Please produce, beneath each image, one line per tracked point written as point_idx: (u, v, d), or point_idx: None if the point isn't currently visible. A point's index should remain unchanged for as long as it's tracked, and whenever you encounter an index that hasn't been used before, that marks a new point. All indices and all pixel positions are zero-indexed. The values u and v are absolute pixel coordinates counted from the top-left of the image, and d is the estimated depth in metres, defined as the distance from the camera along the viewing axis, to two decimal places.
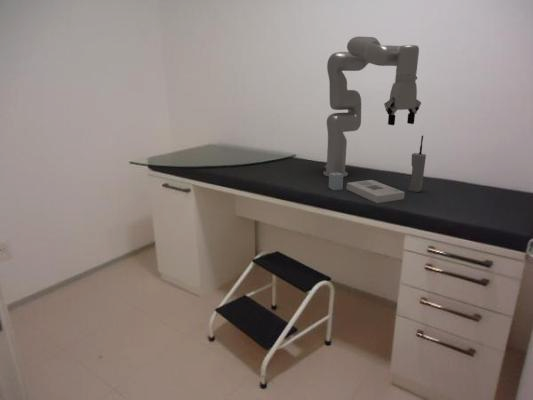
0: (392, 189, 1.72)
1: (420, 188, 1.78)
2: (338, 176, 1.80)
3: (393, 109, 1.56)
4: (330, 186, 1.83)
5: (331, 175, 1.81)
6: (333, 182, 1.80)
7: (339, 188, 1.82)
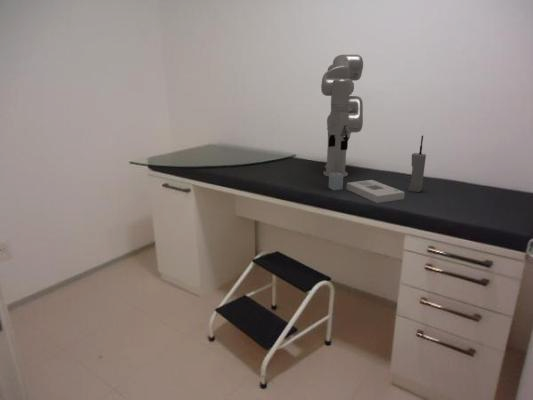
0: (392, 189, 1.72)
1: (420, 188, 1.78)
2: (338, 176, 1.80)
3: None
4: (330, 186, 1.83)
5: (331, 175, 1.81)
6: (333, 182, 1.80)
7: (339, 188, 1.82)
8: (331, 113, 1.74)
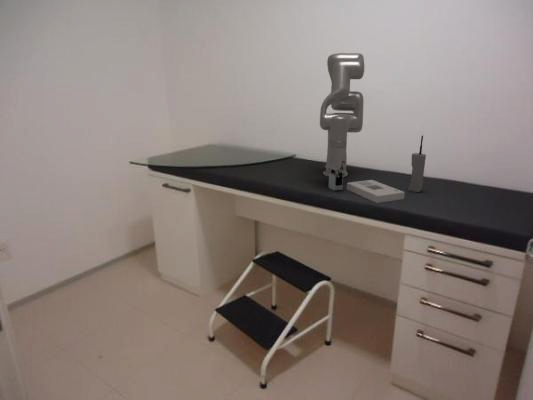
0: (392, 189, 1.72)
1: (420, 188, 1.78)
2: None
3: None
4: (330, 186, 1.83)
5: (331, 175, 1.81)
6: (333, 182, 1.80)
7: (339, 188, 1.82)
8: (329, 148, 1.79)
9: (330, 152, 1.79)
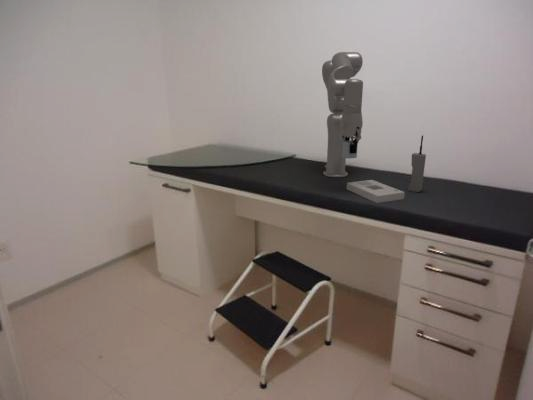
0: (392, 189, 1.72)
1: (420, 188, 1.78)
2: None
3: (352, 138, 1.71)
4: (344, 154, 1.76)
5: (345, 143, 1.74)
6: (347, 150, 1.73)
7: (353, 156, 1.74)
8: (343, 114, 1.72)
9: (344, 118, 1.71)
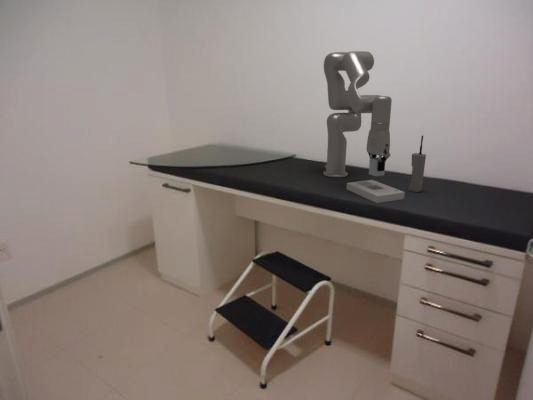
0: (392, 189, 1.72)
1: (420, 188, 1.78)
2: None
3: None
4: (371, 172, 1.72)
5: (372, 160, 1.70)
6: (375, 167, 1.69)
7: (381, 174, 1.70)
8: (371, 131, 1.68)
9: (372, 135, 1.68)
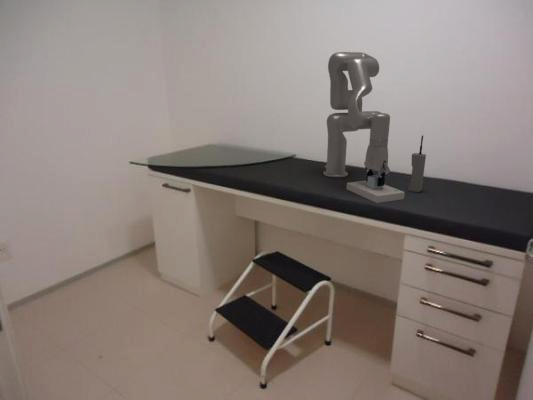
0: (392, 189, 1.72)
1: (420, 188, 1.78)
2: None
3: None
4: None
5: (370, 178, 1.73)
6: (372, 185, 1.72)
7: None
8: (369, 147, 1.71)
9: (370, 151, 1.70)
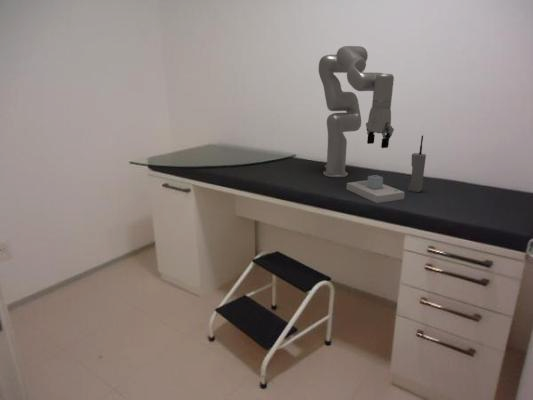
0: (392, 189, 1.72)
1: (420, 188, 1.78)
2: (378, 179, 1.71)
3: None
4: None
5: (370, 178, 1.73)
6: (372, 185, 1.72)
7: None
8: (372, 109, 1.68)
9: (373, 113, 1.67)
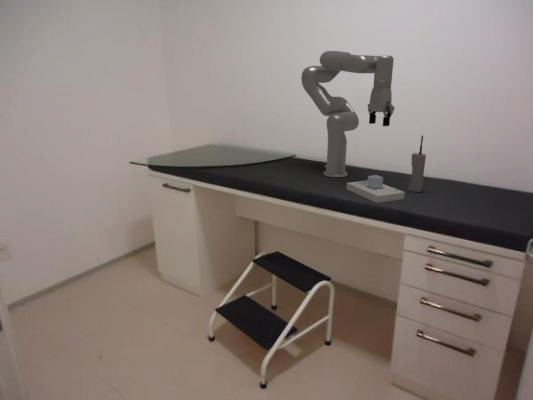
0: (392, 189, 1.72)
1: (420, 188, 1.78)
2: (378, 179, 1.71)
3: None
4: None
5: (370, 178, 1.73)
6: (372, 185, 1.72)
7: None
8: (373, 90, 1.77)
9: (374, 94, 1.77)
